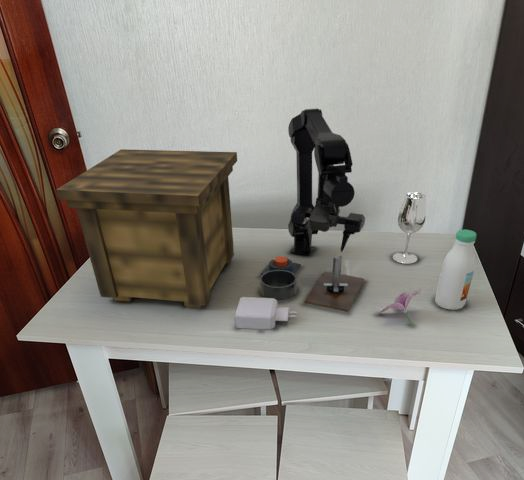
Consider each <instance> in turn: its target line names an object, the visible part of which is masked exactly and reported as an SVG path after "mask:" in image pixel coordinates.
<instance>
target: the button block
mask: <svg viewBox="0 0 524 480" xmlns="http://www.w3.org/2000/svg"><path fill="white" fill-rule="evenodd" d="M274 259H275V258H274ZM274 259H271V260H270V261H269V263H268V265H267V266H266V267H265V268H264V269H263V270H262V272H261V273H260V276H262V275H263V274H264V273H266V272H268V271H272V270H286V271H289V272H292V273H293V274H295V273H296V272H297V271H298V270H299V268H301V263H300V262H299V263H298V262H293V260H291V259H290V258H287V259H288V265H287V266H284V267H278V266H275V265H274Z"/></svg>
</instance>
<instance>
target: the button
mask: <svg viewBox="0 0 524 480" xmlns="http://www.w3.org/2000/svg"><path fill="white" fill-rule="evenodd" d="M288 259H289V258H288V257H286V256H284V255H280V256H279V255H278V256H275V257H274V265H275V266H278V267H284V266H287V265H288Z"/></svg>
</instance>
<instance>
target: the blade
mask: <svg viewBox="0 0 524 480" xmlns="http://www.w3.org/2000/svg"><path fill="white" fill-rule="evenodd" d="M342 261H343V256H342V255H339V254H336V255H333V258H332V272H331V273H332V282H331V283H324V286H327V291H328V292H330V293H335V294H337V293H341V292H343V291H344V286H348V284H343V283H340V274H342V273H341V272H342Z"/></svg>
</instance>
